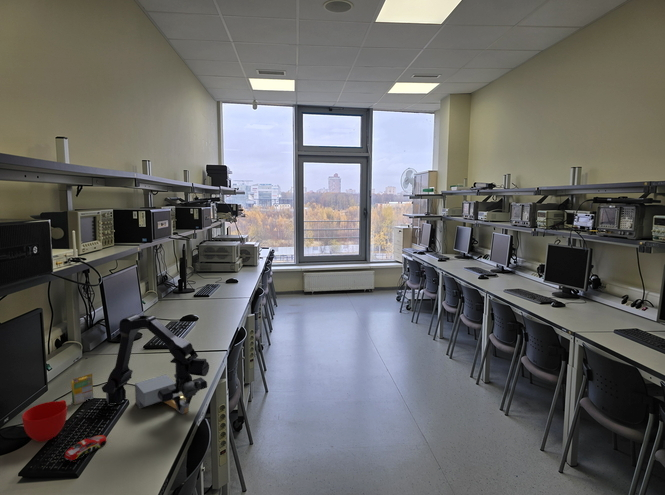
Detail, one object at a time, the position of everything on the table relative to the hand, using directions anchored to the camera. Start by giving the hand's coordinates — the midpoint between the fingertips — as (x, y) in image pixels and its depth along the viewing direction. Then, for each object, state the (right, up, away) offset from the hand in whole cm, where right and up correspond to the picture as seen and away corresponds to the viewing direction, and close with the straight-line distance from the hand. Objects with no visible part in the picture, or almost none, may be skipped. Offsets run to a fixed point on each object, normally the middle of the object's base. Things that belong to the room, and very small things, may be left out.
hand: (183, 408), depth 158 cm
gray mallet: (-5, -1, +3) cm, 6 cm away
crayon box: (-46, +1, +5) cm, 46 cm away
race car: (-24, -4, -26) cm, 35 cm away
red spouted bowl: (-43, -2, -17) cm, 46 cm away
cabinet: (-14, 0, +6) cm, 15 cm away
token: (-5, 0, +10) cm, 12 cm away
